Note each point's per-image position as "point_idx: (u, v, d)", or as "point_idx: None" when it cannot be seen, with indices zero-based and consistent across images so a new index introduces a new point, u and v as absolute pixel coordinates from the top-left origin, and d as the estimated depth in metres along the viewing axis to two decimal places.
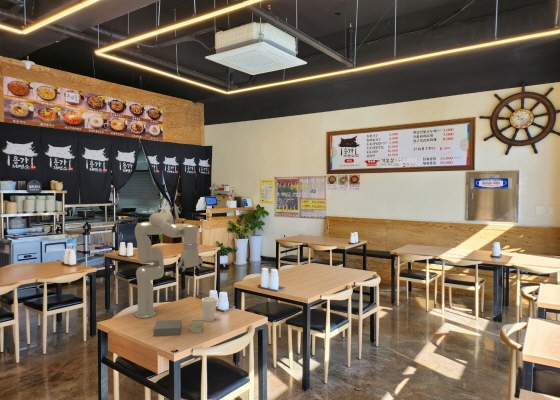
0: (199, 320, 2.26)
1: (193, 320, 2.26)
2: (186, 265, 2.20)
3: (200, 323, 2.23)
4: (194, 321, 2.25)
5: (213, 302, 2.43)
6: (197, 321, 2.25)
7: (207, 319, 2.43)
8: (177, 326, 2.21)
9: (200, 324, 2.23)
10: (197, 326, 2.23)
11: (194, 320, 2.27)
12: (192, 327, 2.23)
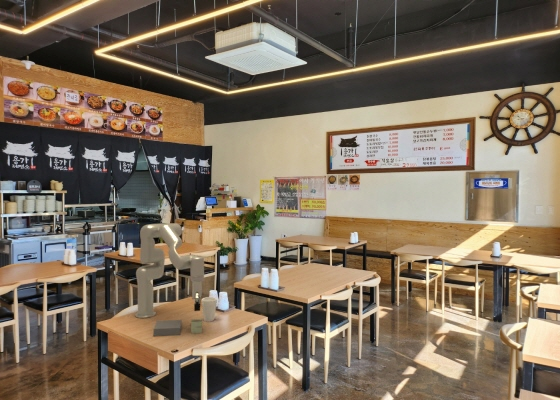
0: (199, 320, 2.26)
1: (193, 320, 2.26)
2: (200, 297, 2.22)
3: (200, 323, 2.23)
4: (194, 321, 2.25)
5: (213, 302, 2.43)
6: (197, 321, 2.25)
7: (207, 319, 2.43)
8: (177, 326, 2.21)
9: (200, 324, 2.23)
10: (197, 326, 2.23)
11: (194, 320, 2.27)
12: (192, 327, 2.23)
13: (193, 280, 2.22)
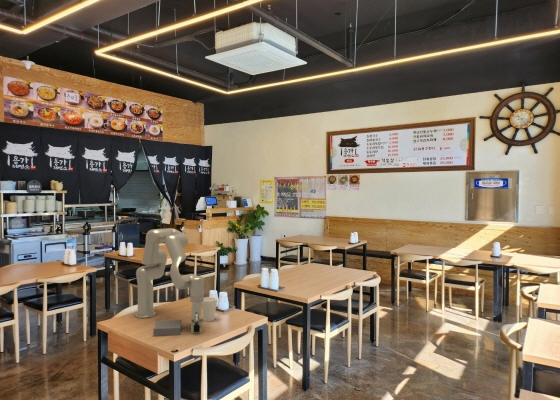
0: (199, 320, 2.26)
1: (193, 320, 2.26)
2: (200, 317, 2.22)
3: (200, 323, 2.24)
4: None
5: (213, 302, 2.43)
6: None
7: (207, 319, 2.43)
8: (177, 326, 2.21)
9: (200, 324, 2.24)
10: None
11: None
12: (192, 327, 2.23)
13: (193, 300, 2.22)
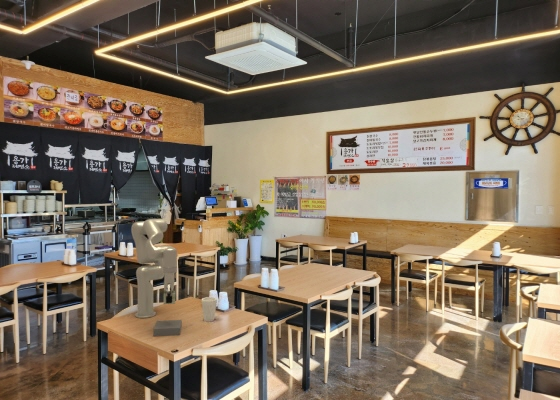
0: (172, 292, 2.25)
1: (166, 292, 2.25)
2: (172, 288, 2.21)
3: (173, 294, 2.23)
4: None
5: (213, 302, 2.43)
6: None
7: (207, 319, 2.43)
8: (177, 326, 2.21)
9: (173, 295, 2.23)
10: None
11: None
12: (164, 298, 2.22)
13: (165, 271, 2.21)
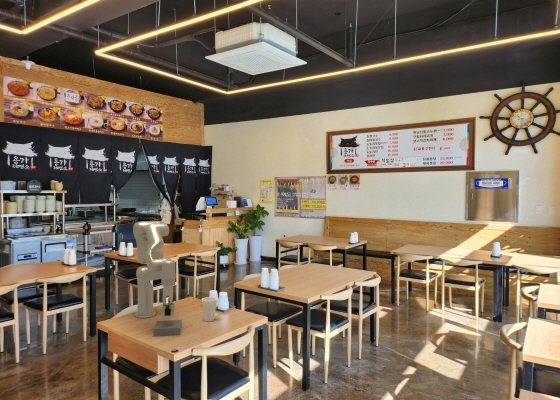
0: (170, 304, 2.25)
1: None
2: (171, 301, 2.21)
3: (171, 306, 2.22)
4: None
5: (213, 302, 2.43)
6: (168, 304, 2.24)
7: (207, 319, 2.43)
8: (177, 326, 2.21)
9: (171, 307, 2.22)
10: None
11: None
12: (163, 310, 2.22)
13: (164, 284, 2.21)
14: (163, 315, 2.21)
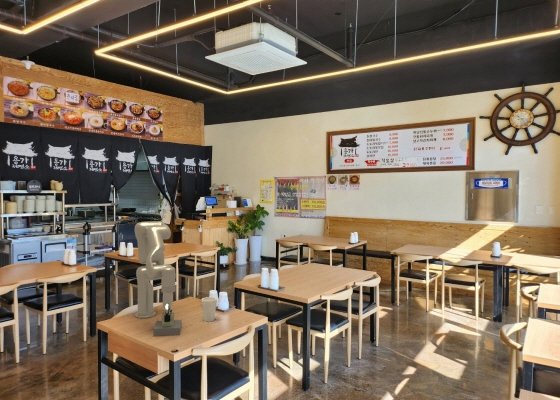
0: (170, 313, 2.25)
1: (164, 313, 2.25)
2: (171, 308, 2.21)
3: (171, 316, 2.23)
4: None
5: (213, 302, 2.43)
6: None
7: (207, 319, 2.43)
8: (177, 326, 2.21)
9: (171, 317, 2.23)
10: None
11: None
12: (163, 320, 2.22)
13: (164, 291, 2.21)
14: (163, 324, 2.22)
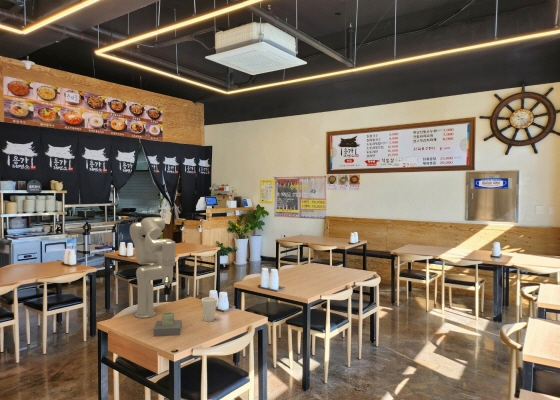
0: (170, 313, 2.25)
1: (164, 313, 2.25)
2: (171, 281, 2.23)
3: (171, 316, 2.23)
4: (165, 314, 2.24)
5: (213, 302, 2.43)
6: (168, 314, 2.25)
7: (207, 319, 2.43)
8: (177, 326, 2.21)
9: (171, 317, 2.23)
10: (168, 319, 2.22)
11: (165, 313, 2.26)
12: (163, 320, 2.22)
13: (164, 264, 2.23)
14: (163, 324, 2.22)
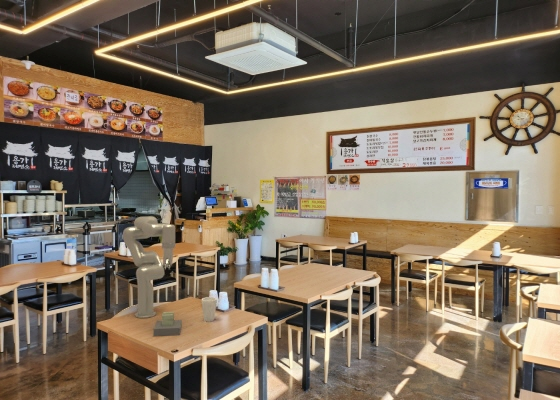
0: (170, 313, 2.25)
1: (164, 313, 2.25)
2: (171, 263, 2.31)
3: (171, 316, 2.23)
4: (165, 314, 2.24)
5: (213, 302, 2.43)
6: (168, 314, 2.25)
7: (207, 319, 2.43)
8: (177, 326, 2.21)
9: (171, 317, 2.23)
10: (168, 319, 2.22)
11: (165, 313, 2.26)
12: (163, 320, 2.22)
13: (164, 247, 2.31)
14: (163, 324, 2.22)
